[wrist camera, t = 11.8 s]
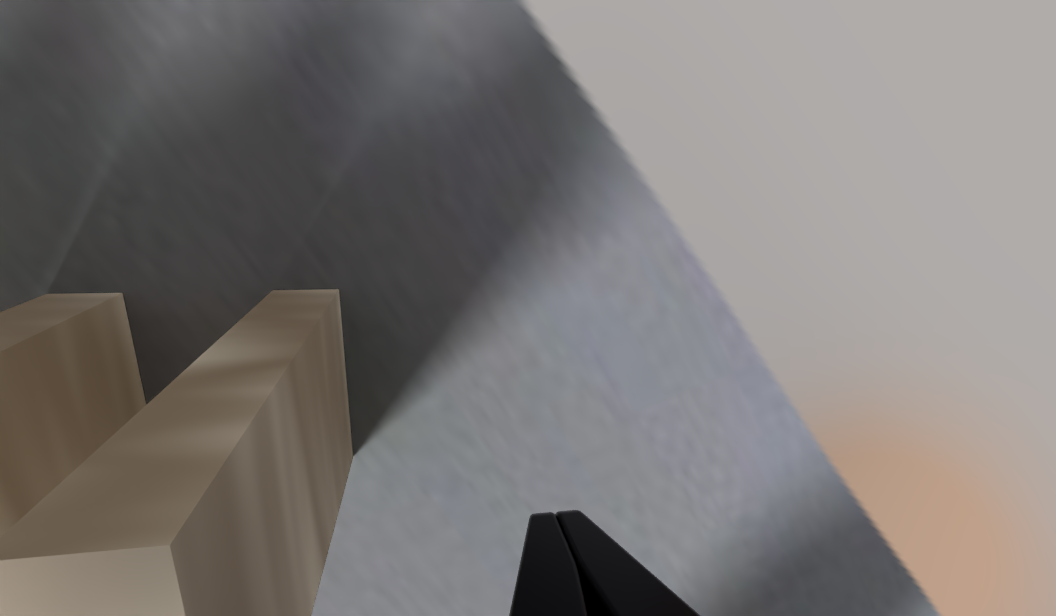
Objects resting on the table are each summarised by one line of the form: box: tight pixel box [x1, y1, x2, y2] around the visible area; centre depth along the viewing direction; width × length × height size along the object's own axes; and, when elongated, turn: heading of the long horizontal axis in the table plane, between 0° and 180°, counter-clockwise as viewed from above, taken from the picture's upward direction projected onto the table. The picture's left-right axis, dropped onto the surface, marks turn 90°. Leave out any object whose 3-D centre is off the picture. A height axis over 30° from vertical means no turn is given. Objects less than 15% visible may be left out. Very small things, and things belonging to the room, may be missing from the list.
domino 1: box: [0, 289, 353, 616], centre depth 10 cm, size 2×5×9 cm, turn 178°
